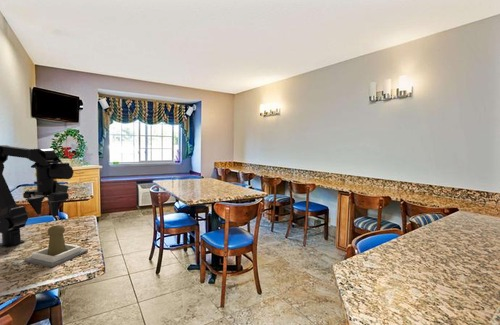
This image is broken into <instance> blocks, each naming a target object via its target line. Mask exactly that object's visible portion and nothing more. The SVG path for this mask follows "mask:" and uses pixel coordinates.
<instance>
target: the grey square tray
mask: <svg viewBox="0 0 500 325" xmlns="http://www.w3.org/2000/svg"><path fill="white" fill-rule="evenodd" d="M65 247H66V252H63V253H61V254H58V255H56V256H50V255H47V254H48V247H45V248H42V249H40V250H36V251H34V252H32V253H30V254H31V255H30V256H29V257H26V258H24V260H23V262H27V263H31V264H35V265H38V266H39V265H40V266H45V267H49V268H53V267H56V266H58V265H61V264H63V263H66V262H68V261H70V260H72V259H74V258H77V257H78V256H81V255H83V253H84V254H85V253H88V249H85V248H82V246H81V245H76V244H71V243H66V242H65Z"/></svg>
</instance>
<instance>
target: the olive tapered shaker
mask: <svg viewBox="0 0 500 325" xmlns="http://www.w3.org/2000/svg"><path fill="white" fill-rule="evenodd" d="M64 233H65V227H64V225H58V224H57V225H53V226H50V227H49V228H48V229H47V235H48V236H49V238H48V247H47V248H48V254H47V255H50V256H56V255H58V254H61V253H63V252H66V247H65V243H66V242H65V238H64V237H65V236H64Z"/></svg>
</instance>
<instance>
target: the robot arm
mask: <svg viewBox="0 0 500 325" xmlns="http://www.w3.org/2000/svg"><path fill="white" fill-rule="evenodd" d="M9 157H15V158H21V159H22V158H24V159H27V160H29V161H31V162H34V163H33V164H32V165H31V166H30V168H32V169H35V175H36V176H35V177H36V180H35V181H34V182H33V184H34V185H36V189H32V190H26V191H24V192H23V194H22V196H23V198H22V199H25V201H27V203H28V204H29V205H30V207H32V210H34V212H35V213H36V215H41V214H42V206H43V205H42V204H43V200H44V199H45V198H47V200H48V201H47V205H48V207H49V210H50V213H51V215H52V218H55V217H57V215H58V212H59V210H60V207H61V205H62V204H63V203H64V202H66V201H67V200H69V199H70V197H69V196H70V195H69V193H68V191H69V188H70V187H69V185H64V184H60V182H58V181H57V180H70V179H71V178H73V176H74V172H75V171H74V169H73V166H71V165H70V162H63V161H62V160H61V159H60V157H59V156H58V154H57V153H56V151H55V150H54V149H53V148H25V147H18V146H10V145H7V144H6V145H1V144H0V234H1V242H0V247H4V248H9V247H13V246H16V245H19V244H22V243H25V242H26V241H25V240H22V239H21V228H26V225H27V222H28V220H29V213H28V212H27V209H26V207H25V206H24V205H23V206H20V205H18V204H17V202H16V200H15V199H14V196H13V194H12V192H11V190H10V188H9V186H8V183H7V181H6V179H5V177H4V174H3V173H4V169H5V164H4V163H6V162H7V161H8V158H9Z"/></svg>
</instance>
